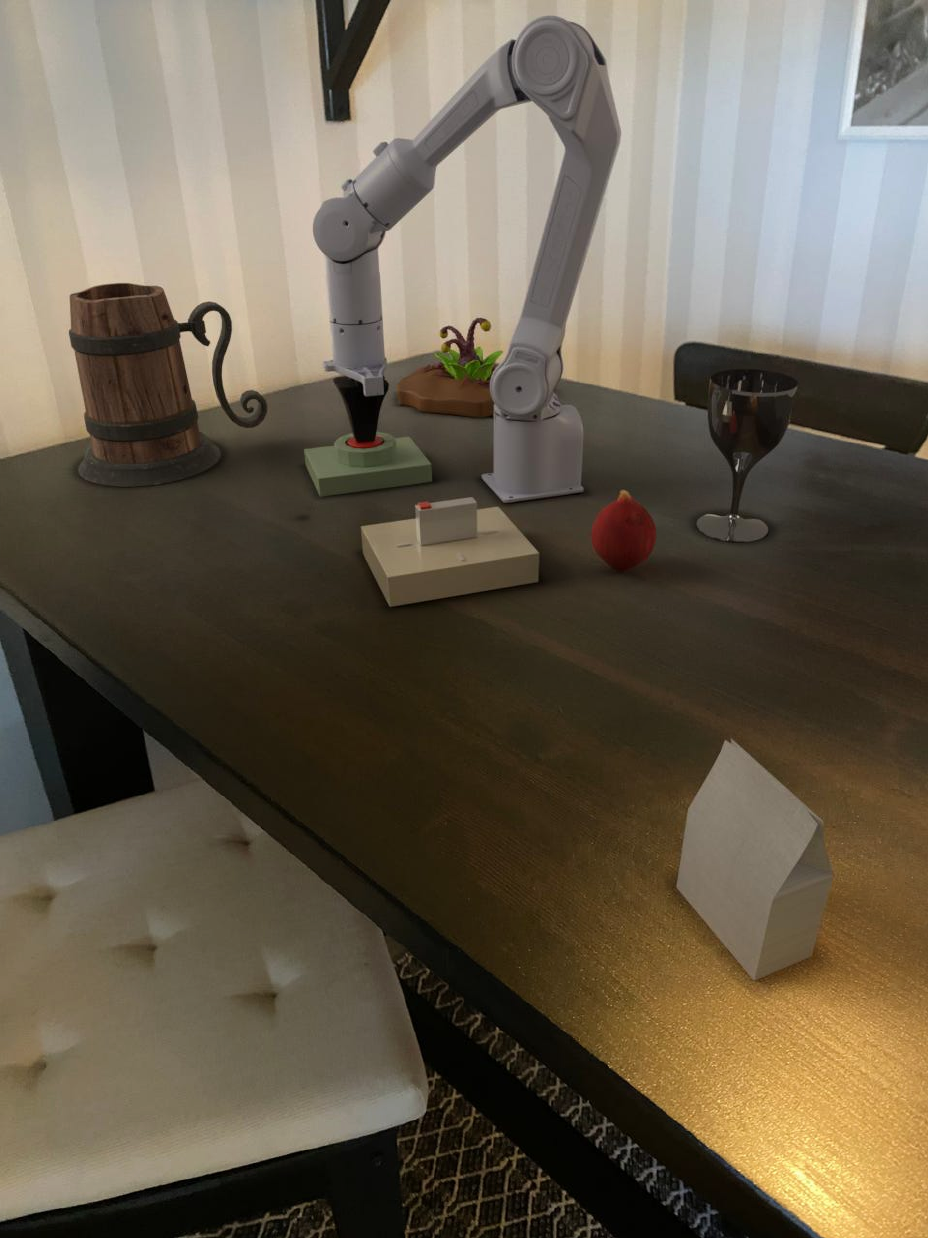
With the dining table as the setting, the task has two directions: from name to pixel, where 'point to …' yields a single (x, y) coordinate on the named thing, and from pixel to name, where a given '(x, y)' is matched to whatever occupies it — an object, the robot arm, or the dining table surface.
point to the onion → (623, 533)
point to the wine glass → (745, 437)
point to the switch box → (446, 520)
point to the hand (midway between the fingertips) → (364, 440)
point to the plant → (453, 379)
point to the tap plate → (448, 560)
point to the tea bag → (755, 864)
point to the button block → (367, 465)
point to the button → (365, 443)
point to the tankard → (144, 386)
